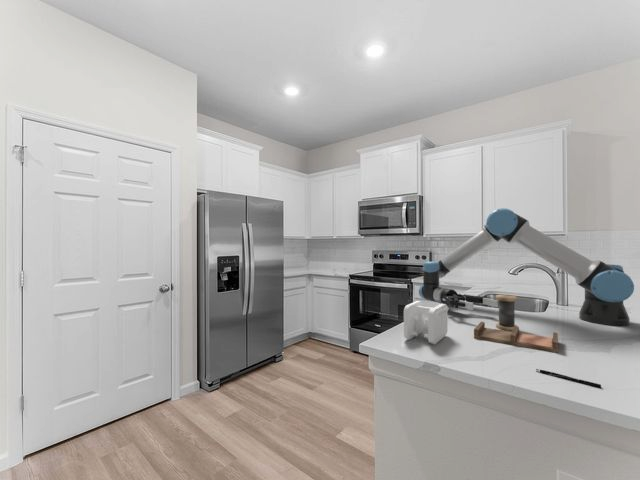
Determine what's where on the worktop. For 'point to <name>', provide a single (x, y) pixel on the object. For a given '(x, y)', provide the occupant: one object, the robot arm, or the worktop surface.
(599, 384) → the black pen
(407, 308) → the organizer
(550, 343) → the slot cradle
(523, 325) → the worktop surface
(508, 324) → the cord spool
